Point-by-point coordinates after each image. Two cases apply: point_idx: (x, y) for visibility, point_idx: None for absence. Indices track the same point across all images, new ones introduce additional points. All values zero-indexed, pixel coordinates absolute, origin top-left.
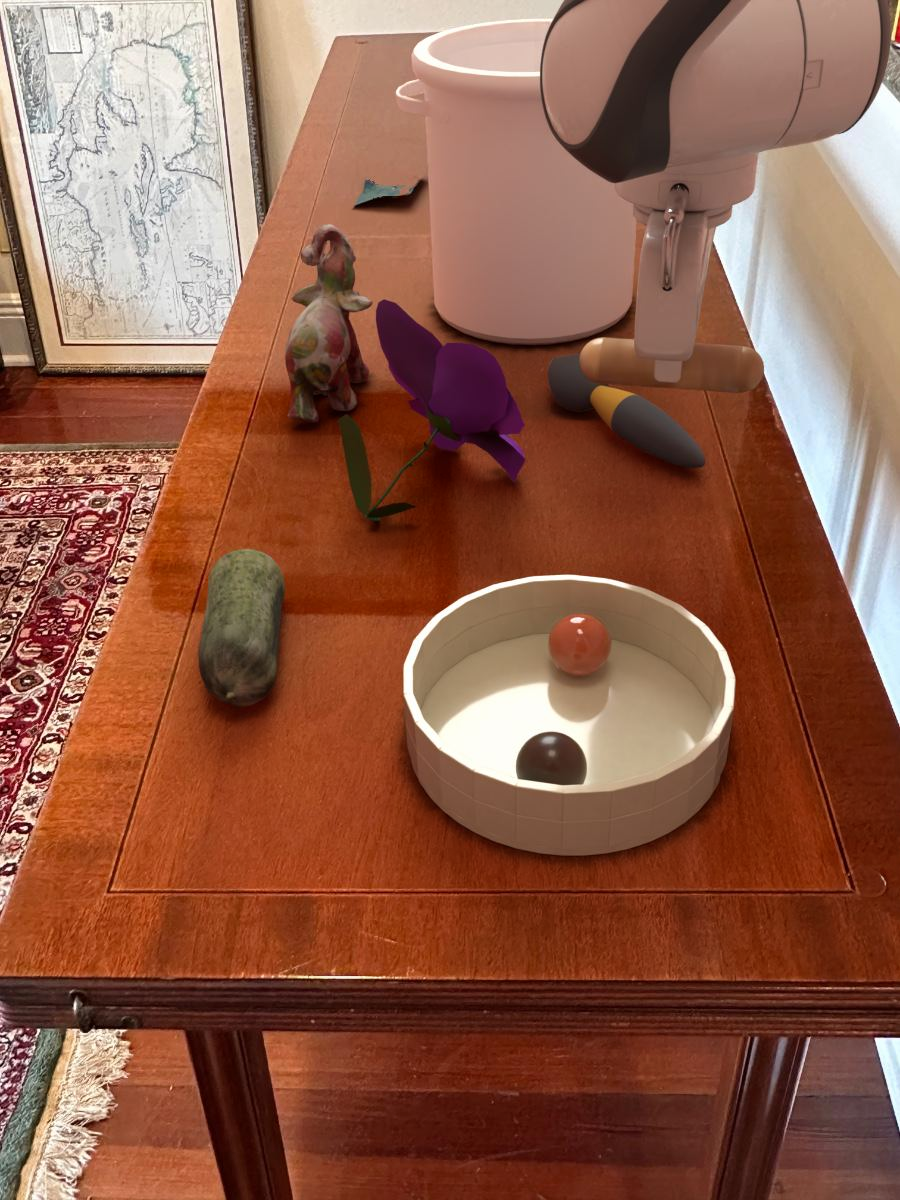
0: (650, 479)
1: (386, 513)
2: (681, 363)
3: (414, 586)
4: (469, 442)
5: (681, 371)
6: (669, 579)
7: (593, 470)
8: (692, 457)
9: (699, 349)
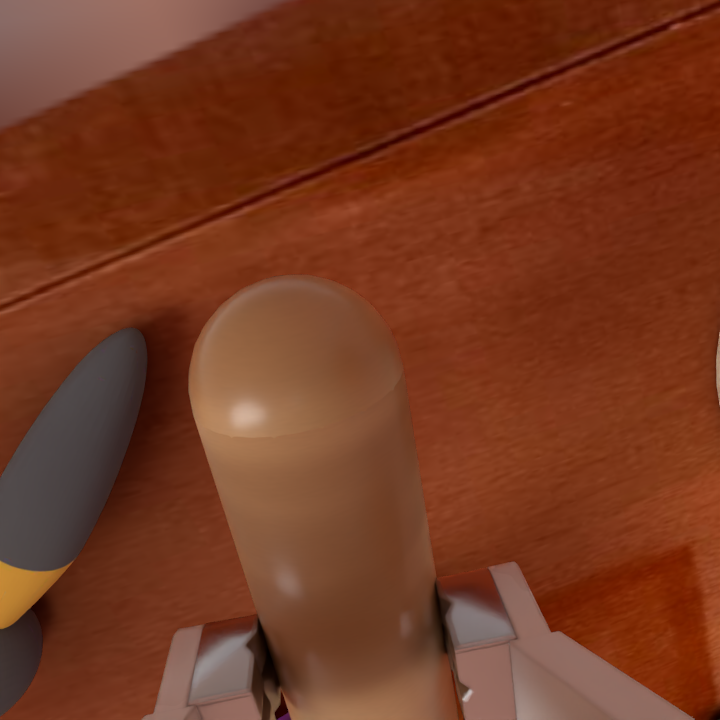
0: None
1: None
2: (542, 615)
3: (633, 610)
4: (282, 717)
5: (480, 579)
6: (527, 279)
7: (215, 511)
8: (139, 359)
9: (367, 592)
